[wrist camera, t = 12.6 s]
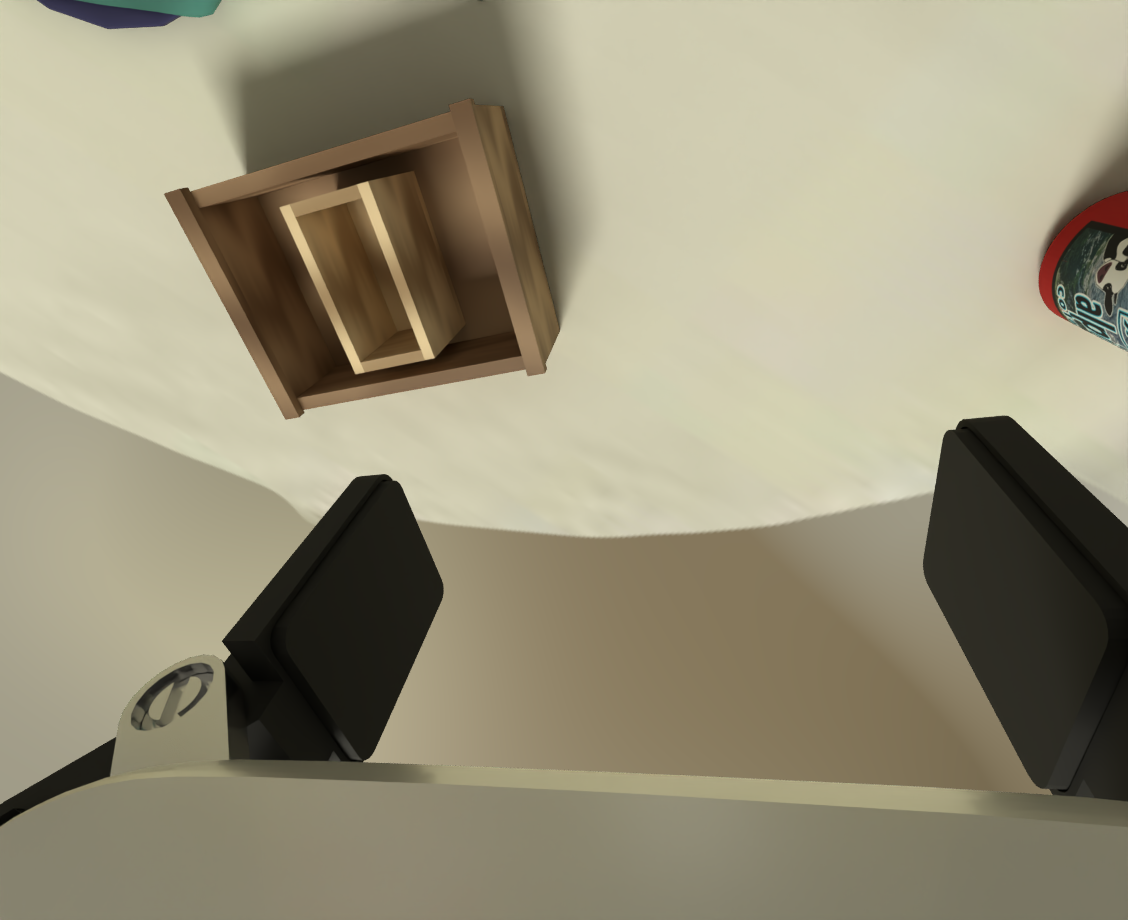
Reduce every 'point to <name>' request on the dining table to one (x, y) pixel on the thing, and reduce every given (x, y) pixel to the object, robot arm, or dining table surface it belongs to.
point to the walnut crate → (462, 227)
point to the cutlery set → (132, 11)
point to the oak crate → (378, 271)
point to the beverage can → (1091, 271)
